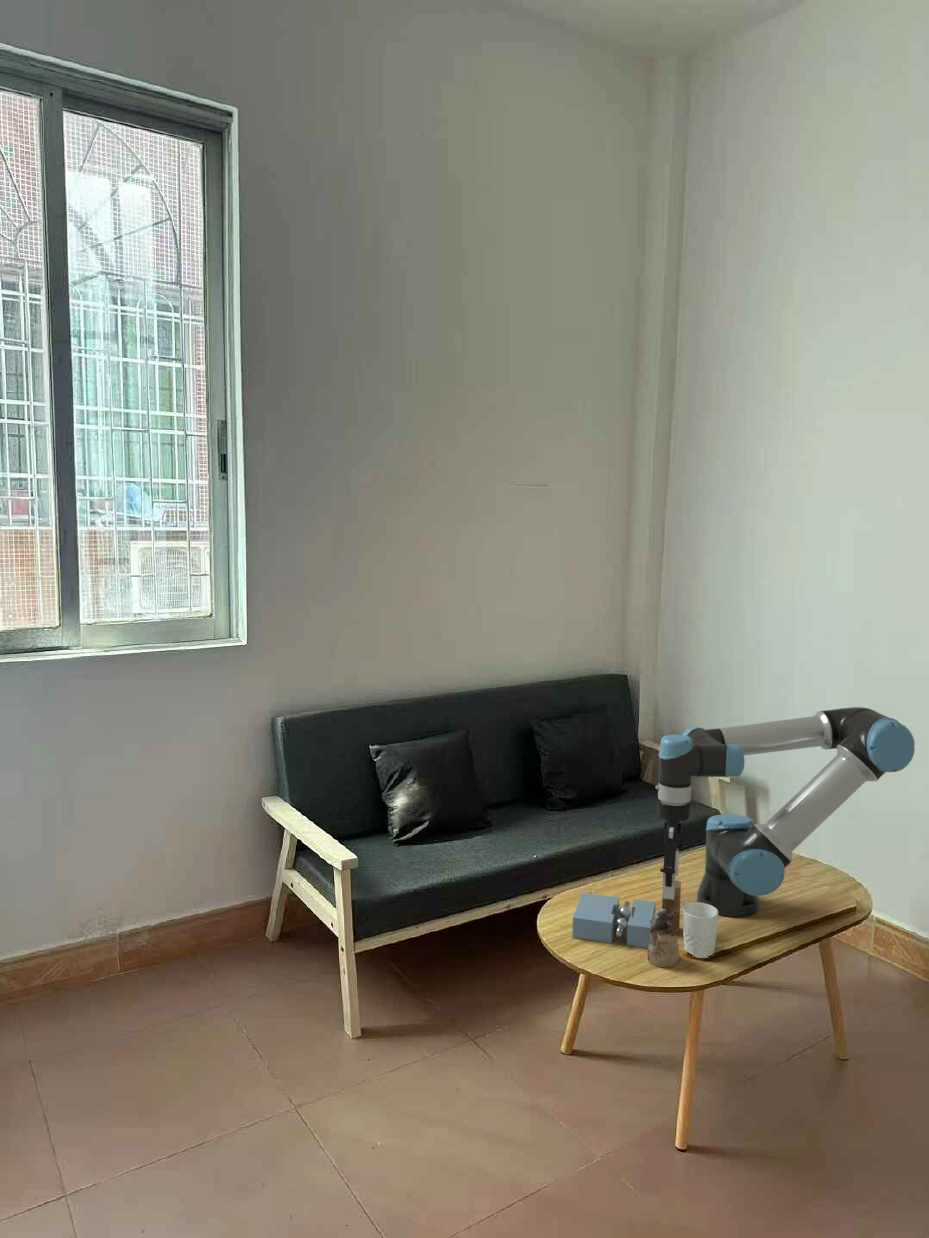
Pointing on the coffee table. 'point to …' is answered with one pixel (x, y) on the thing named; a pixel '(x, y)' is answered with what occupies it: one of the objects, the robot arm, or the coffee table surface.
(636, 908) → the socket board
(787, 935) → the coffee table surface
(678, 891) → the peg
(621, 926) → the plunger
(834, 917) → the coffee table surface
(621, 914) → the plunger
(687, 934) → the white cup
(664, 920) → the figurine
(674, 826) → the robot arm
